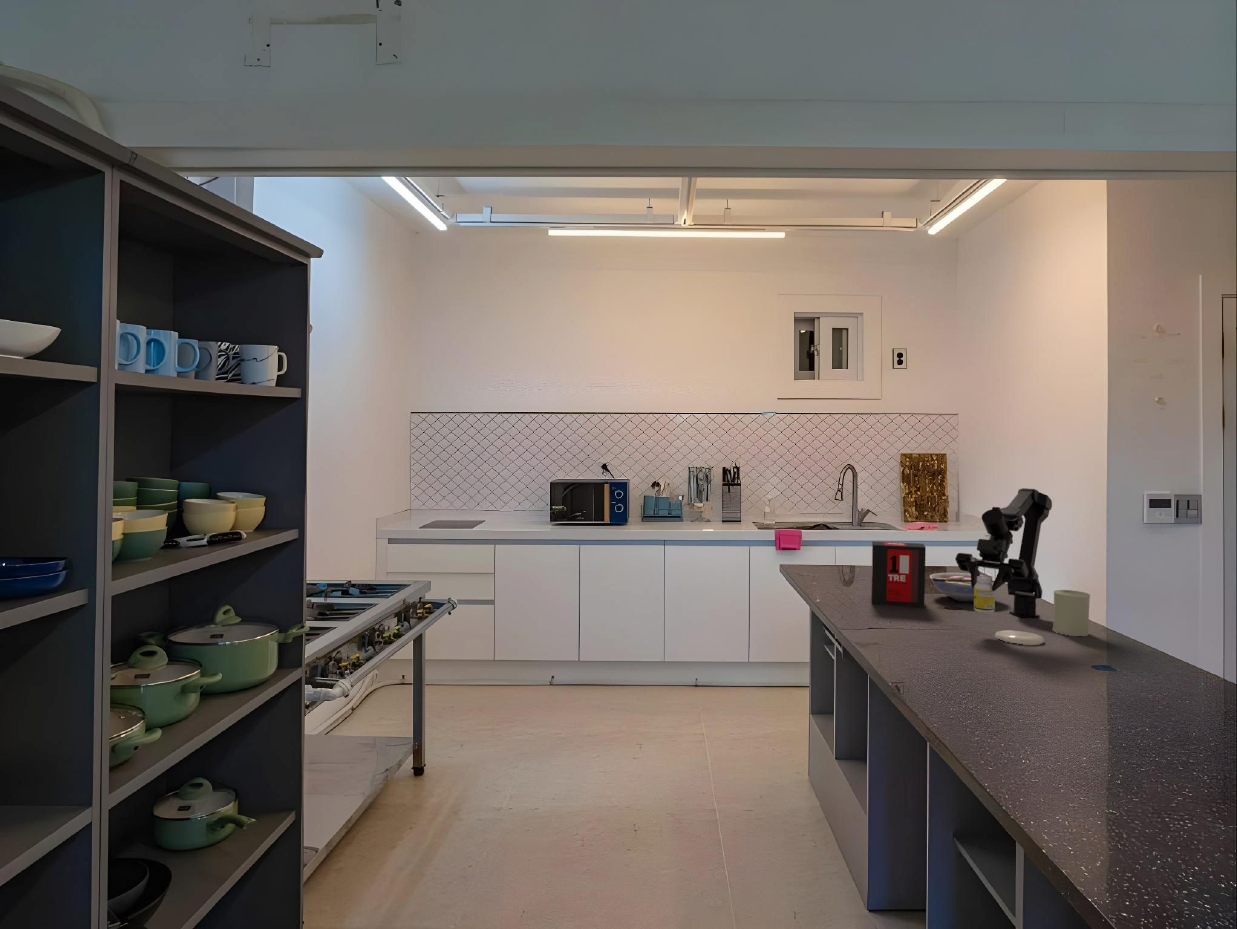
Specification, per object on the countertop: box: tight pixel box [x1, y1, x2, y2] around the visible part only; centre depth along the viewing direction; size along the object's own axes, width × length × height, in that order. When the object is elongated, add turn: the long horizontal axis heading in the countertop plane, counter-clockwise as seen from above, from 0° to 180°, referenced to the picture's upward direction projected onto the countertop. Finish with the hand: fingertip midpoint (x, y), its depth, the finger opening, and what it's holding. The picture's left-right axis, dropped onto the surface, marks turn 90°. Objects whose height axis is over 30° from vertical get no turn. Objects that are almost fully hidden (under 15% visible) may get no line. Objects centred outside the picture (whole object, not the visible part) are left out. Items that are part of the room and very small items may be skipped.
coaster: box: [994, 630, 1045, 646], centre depth 217 cm, size 12×12×1 cm
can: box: [1051, 589, 1091, 637], centre depth 226 cm, size 9×9×12 cm
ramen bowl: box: [929, 572, 997, 603], centre depth 270 cm, size 25×23×8 cm
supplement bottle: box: [973, 575, 996, 614], centre depth 223 cm, size 5×5×10 cm
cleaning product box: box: [870, 541, 927, 608], centre depth 263 cm, size 16×9×20 cm, turn 73°
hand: (982, 588), depth 222 cm, fingers closed on supplement bottle, 5 cm apart
